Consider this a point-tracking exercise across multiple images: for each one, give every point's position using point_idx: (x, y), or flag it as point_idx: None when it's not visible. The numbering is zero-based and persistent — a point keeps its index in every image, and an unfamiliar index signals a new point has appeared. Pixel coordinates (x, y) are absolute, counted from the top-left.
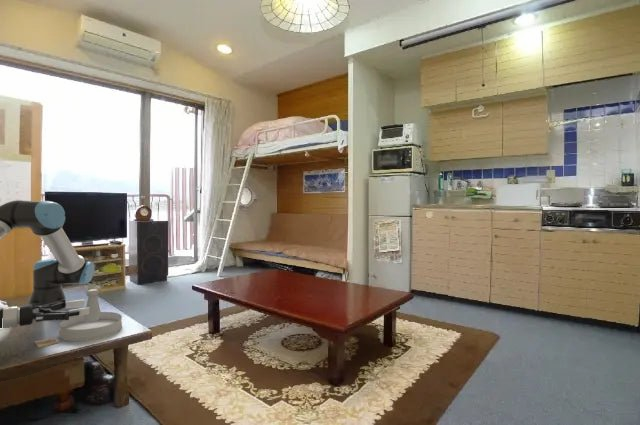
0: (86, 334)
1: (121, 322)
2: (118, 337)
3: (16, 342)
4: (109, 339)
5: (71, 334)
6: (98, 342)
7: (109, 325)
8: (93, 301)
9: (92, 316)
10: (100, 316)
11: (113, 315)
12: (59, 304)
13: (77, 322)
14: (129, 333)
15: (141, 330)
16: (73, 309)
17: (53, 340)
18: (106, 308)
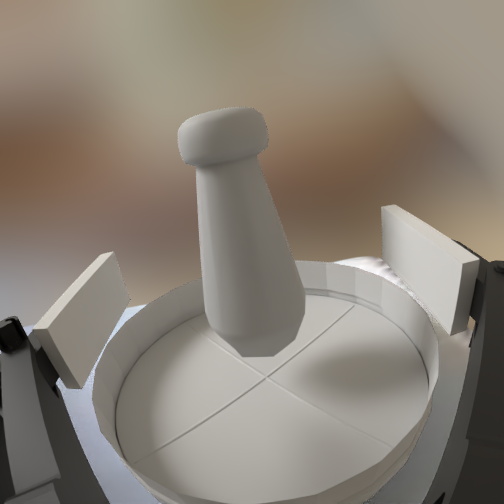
0: (429, 360)
1: None
2: (413, 296)
3: None
4: (430, 314)
5: (417, 428)
6: (459, 337)
7: (380, 280)
8: (270, 195)
9: (304, 298)
10: (141, 337)
11: (189, 297)
12: (38, 386)
13: (112, 425)
14: None
15: (357, 262)
16: (439, 246)
17: None
18: (27, 333)
